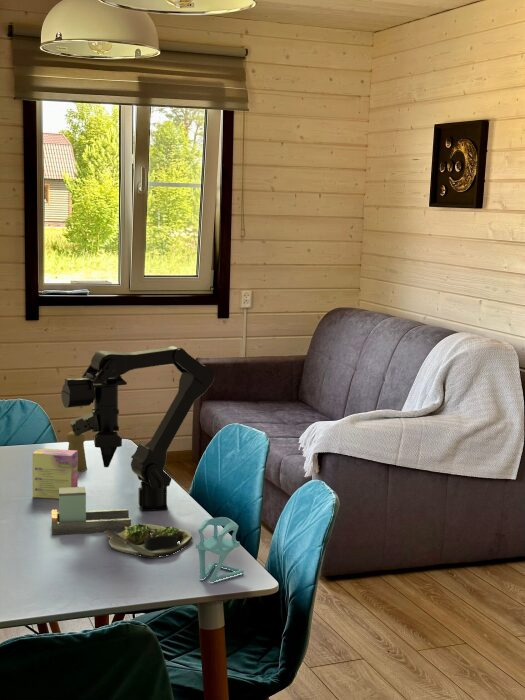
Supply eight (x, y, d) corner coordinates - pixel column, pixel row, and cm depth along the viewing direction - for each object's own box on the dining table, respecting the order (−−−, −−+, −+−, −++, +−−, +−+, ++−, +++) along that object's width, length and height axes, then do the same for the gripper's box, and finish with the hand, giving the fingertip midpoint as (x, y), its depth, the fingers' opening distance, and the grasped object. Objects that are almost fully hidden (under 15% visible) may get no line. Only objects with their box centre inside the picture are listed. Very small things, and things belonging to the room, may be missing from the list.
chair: (190, 578, 188) (190, 522, 186) (214, 565, 194) (214, 511, 192) (220, 587, 183) (221, 530, 181) (244, 574, 190) (245, 518, 188)
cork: (61, 470, 261) (61, 432, 259) (72, 465, 267) (71, 428, 265) (80, 472, 259) (80, 434, 257) (90, 467, 265) (90, 430, 263)
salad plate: (84, 550, 202) (84, 530, 201) (128, 525, 218) (128, 507, 218) (160, 566, 194) (160, 545, 194) (200, 539, 210) (200, 520, 210)
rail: (128, 518, 222) (128, 504, 222) (131, 530, 214) (131, 516, 213) (51, 521, 218) (51, 507, 218) (52, 535, 210) (51, 520, 209)
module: (85, 519, 218) (85, 486, 217) (85, 525, 214) (85, 492, 212) (59, 520, 216) (59, 487, 215) (59, 527, 212) (59, 493, 211)
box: (78, 493, 241) (78, 449, 239) (71, 500, 235) (71, 455, 233) (39, 491, 242) (39, 447, 240) (32, 498, 236) (31, 453, 234)
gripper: (71, 396, 228) (71, 457, 230) (72, 413, 210) (73, 479, 212) (116, 395, 230) (116, 456, 233) (122, 412, 212) (122, 477, 215)
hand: (106, 466), depth 223 cm, fingers closed
